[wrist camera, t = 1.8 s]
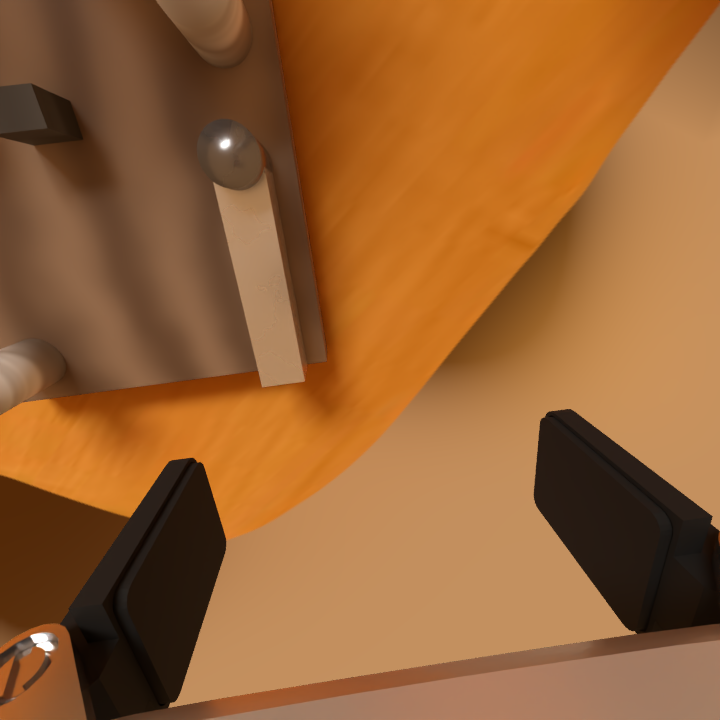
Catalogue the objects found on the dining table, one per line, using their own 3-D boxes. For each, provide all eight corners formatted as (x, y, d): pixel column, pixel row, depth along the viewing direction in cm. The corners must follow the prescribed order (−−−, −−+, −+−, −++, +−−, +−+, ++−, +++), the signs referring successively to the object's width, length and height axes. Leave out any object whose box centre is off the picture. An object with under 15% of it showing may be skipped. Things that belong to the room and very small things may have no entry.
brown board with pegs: (268, -18, 22) (239, -128, 15) (327, 350, 31) (325, 389, 24) (-137, 25, 21) (-364, -69, 14) (41, 388, 30) (-46, 439, 23)
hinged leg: (215, 140, 22) (189, 122, 18) (266, 134, 22) (252, 115, 18) (267, 370, 28) (256, 396, 24) (308, 365, 28) (304, 390, 24)
